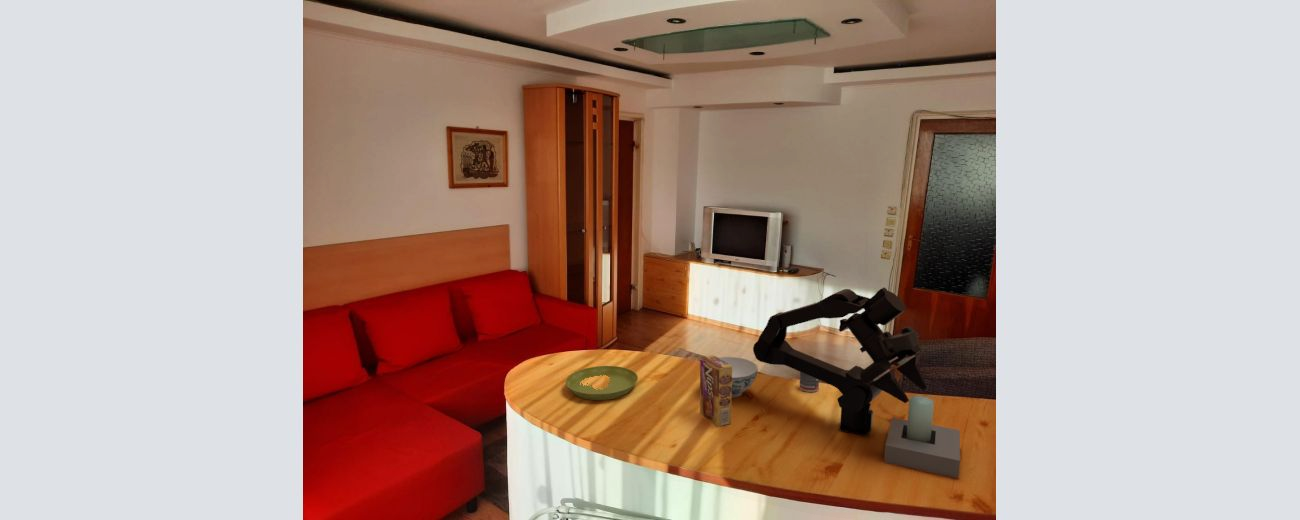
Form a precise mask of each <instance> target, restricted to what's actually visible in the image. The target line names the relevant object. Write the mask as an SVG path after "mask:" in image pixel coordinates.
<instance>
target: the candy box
mask: <svg viewBox="0 0 1300 520" xmlns="http://www.w3.org/2000/svg"><path fill="white" fill-rule="evenodd" d="M699 362H700V363H699V365H700V366H699V367H700V369H699V373H700V374H699V377H700V378H699V388H700V389H699V414H701V416H703V417H705V418H706V419H707V420H709V421H710V422H711V423H712V424H714V425H715V426H716V427H722V426H727V425H731V424H732V399H733V398H732V365H730V364H728V363H726V362H724V361H723V360H721V359H719V358H718V356H715V355H714V354H709V355H705V356H701V357H700V359H699Z"/></svg>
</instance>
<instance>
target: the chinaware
mask: <svg viewBox="0 0 1300 520" xmlns="http://www.w3.org/2000/svg"><path fill="white" fill-rule="evenodd" d="M717 358H719V359H721V360H723V361H724V362H726V363H728V364H730V365H732V399H733V398H738V397H741V396H742V395H743V392H745V391H747V390H748V389H749V388H750V387H751V386H752V385H753V383H754V381H755V379H756V377H757V376H758V373H759V372H758V370H759V367H758V365H757V363H755V362H754V361H752V360H749V359H747V358H743V357H737V356H719V357H718V356H717Z"/></svg>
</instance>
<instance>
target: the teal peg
mask: <svg viewBox="0 0 1300 520" xmlns="http://www.w3.org/2000/svg"><path fill="white" fill-rule="evenodd" d="M908 399H909V401H908V411H907V412H908V413H907V414H908V416H907V420H908V424H907V437H906V439H909V440H914V441H919V442H924V443H929V444H930V440H931V429H932V425H933V417H934V408H935V407H934V404H935V402H934V400H932V399H931V398H930V397H926V396H923V395H913V396H910V397H909V398H908Z"/></svg>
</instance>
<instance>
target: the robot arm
mask: <svg viewBox="0 0 1300 520" xmlns="http://www.w3.org/2000/svg"><path fill="white" fill-rule="evenodd" d="M862 310H863V311H862ZM906 310H907V307H906V305H905V303H904V302H903V299H902V298H901V297H900V296H898V295H896V294H895V292H892V291H889V290H888V289H887V288H886V287H881V288H880V289H879V290H878V291H876V293H875V294H874V295H873V296H871V297H866V296H863V295H861V294H860V295H859V294H857V293H856V292H855V291H853V290H851V289H849V288H844V289H841V290H839V291H837V292H835V293H833V294H831V295H828V296H827V297H825V298H822V299H821V300H819V301H818V302H813V303H810V304H807V305H803V306H800V307H796V308H793V309H790V310H787V311H784V312H778V313H776V314H773V315H772V316H770V317H769V318H768V320H767V323H766V325H765V327H764V329H763V330H762V332H761V334H760V335H759V336H758V340H757V341H756V342H755V343H754V344H753V348H752V349H753V350H752V351H753V355H754V356H755V359H756V360H757V361H759V362H760V363H764V364H769V365H780V366H786V367H788V368H791V369H792V370H794V371H797V372H799V373H800V372H802V373H804V374H806V375H809V376H811V377H813V378H816V379H818V380H819V382H820V381H821V382H822V383H825V384H826V385H827V384H828V385H829V386H832V387H834V388H836V389H837V390H838V391H839V392H840V393H841V395H840V396H838V398H837V399H836V400H837V402H838V406H839V408H841V409H840V424H839V427H838V431H841V432H847V433H851V434H856V435H859V436H865V437H867V436H868V435H869V431H872V429H873V428H872V427H873V416H874V411H873V410H872V409H871V405H872V404H871V402H872V401H874V400H875V399H876V398H877V397H878V396H880V394H881V393H882V391H883V392H885V393H887V394H889V395H890V396H892V397H893V398H896V400H899V401H901V402H903V403H904V404H906V403H909V399H910V398H909V397H908V396H907V394H906V392H905V391H904V388H902V386H901V385H900V383H899V382H898V380H897V378H896V370H897V372H899V373H900V374H902V375H903V376H904V377H905V378H907V379H908V380H909V381H910V382H912V383H913V384H914V385H915V386H916V387H918V388H919V389H921V390H922V391H925V390H927V389H928V385H927V384H926V380H925V379H924V376H923V373H922V370H921V368H920V365H919V361H920V357H921V356H922V355H921V353H920V352H921V351H922V349H921V348H920V347H919V346H920V344H921V343H920V341H919V338H920V336H921V335H920V333H919V332H917V331H916V329H914V328H913V327H912V326H911V325H910V326H905V327H903V328H901V332H900V333H897V334H895V335H892V333H891V332H890V331H887V330H886V331H885V332H884V331H883V330H882V329H881V327H880V326H879V325H881V326H886V325H888V324H890V322H892V321H893V320H895V319H896V318H897V317H899V316H900V315H902V314H903V313H904V312H906ZM860 311H862V312H861V313H858V312H860ZM849 314H852V315H851V316H849V317H848V318H844V317H846V316H848V315H849ZM841 318H842V319H841ZM817 319H818V320H819V319H840V320H839V323H840V324H839V327H838V332H844V331H846V330H849V331H850V332H851V335H853V336H854V338H855V339H856V341H857V342H858V343H859V345H860V346H861V347H860V348H859V350H860V352H861V353H865V352H866V353H867V355H868V356H869V357H870V358H871V361H873V362H872V363H870V365H868V366H867V367H865V368H862V367H861V366H859V365H855V366H853V367H852V368H850V369H849V370H848V369H843V368H841V367H838V366H837V365H835V364H831V363H829V362H826V361H825V360H821V359H819V358H817V357H815V356H812V355H809V354H806V353H805V352H801V351H799V350H797V349H795V348H793V346H791V345H790V344H789V342H788V341H787V340H786V338H787V333H788V330H787V329H788V327H793V326H797V325H798V324H803V323H806V322H810V321H815V320H817ZM814 357H815V358H814ZM893 366H896V369H895V368H893V369H891V368H892V367H893Z"/></svg>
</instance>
